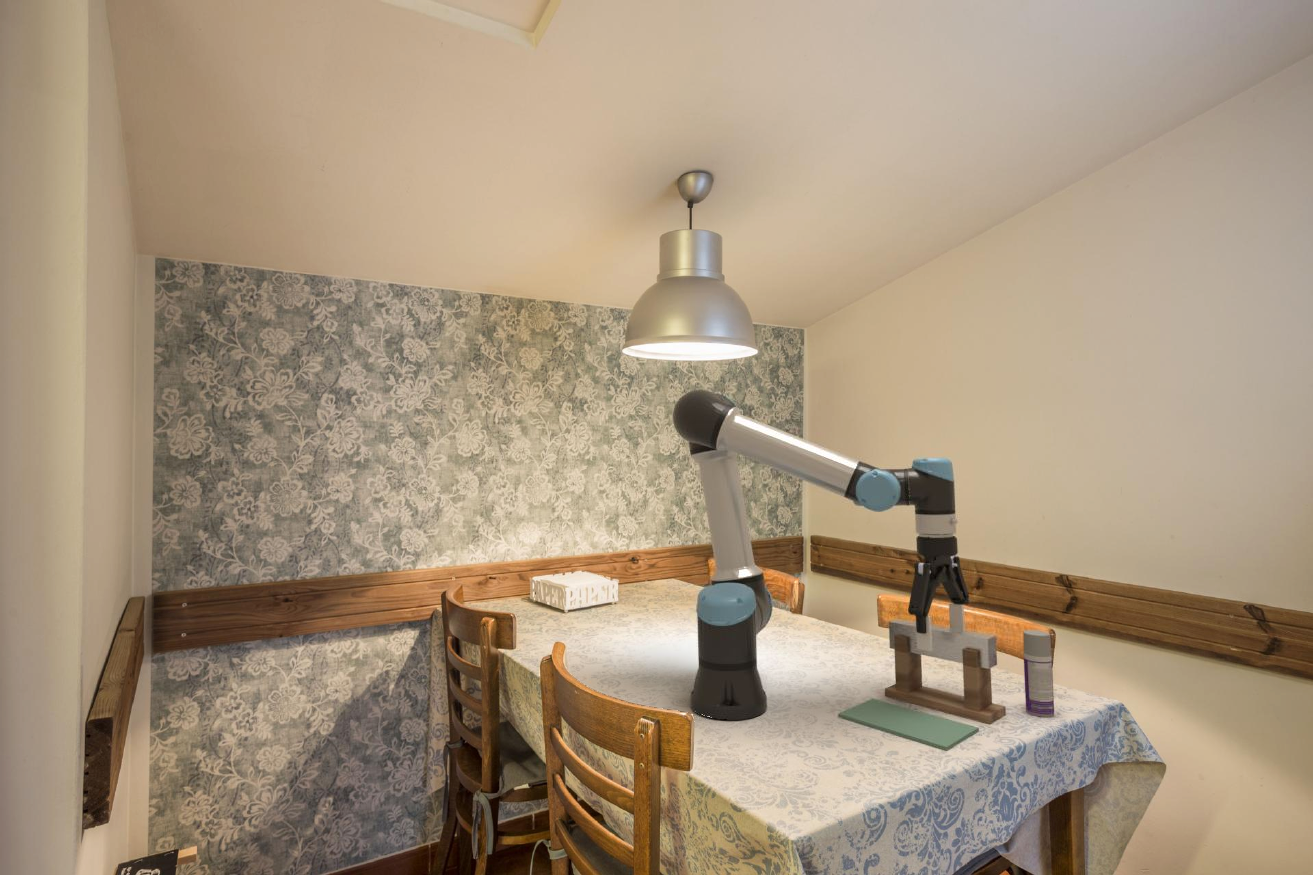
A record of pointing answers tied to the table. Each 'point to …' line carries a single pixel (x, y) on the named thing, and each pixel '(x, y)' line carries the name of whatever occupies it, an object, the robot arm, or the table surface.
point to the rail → (948, 642)
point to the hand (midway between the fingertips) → (941, 643)
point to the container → (1038, 673)
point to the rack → (968, 706)
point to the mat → (909, 723)
